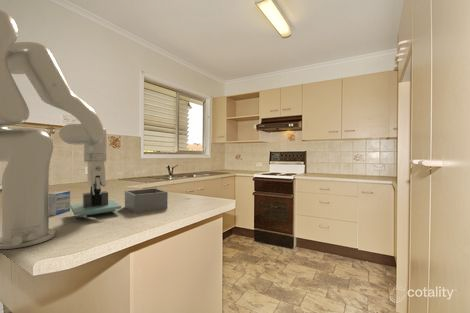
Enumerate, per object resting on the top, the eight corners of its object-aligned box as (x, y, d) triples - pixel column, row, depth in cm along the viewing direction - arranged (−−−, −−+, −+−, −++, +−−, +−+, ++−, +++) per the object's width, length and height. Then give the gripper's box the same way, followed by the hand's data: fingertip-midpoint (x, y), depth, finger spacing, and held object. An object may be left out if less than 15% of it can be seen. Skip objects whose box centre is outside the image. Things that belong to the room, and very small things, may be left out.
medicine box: (55, 215, 87) (55, 193, 87) (44, 215, 87) (44, 193, 87) (70, 210, 95) (70, 190, 95) (60, 210, 95) (60, 190, 95)
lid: (121, 211, 86) (121, 193, 86) (74, 218, 76) (74, 198, 76) (112, 204, 97) (112, 188, 97) (70, 209, 88) (70, 192, 88)
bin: (167, 209, 97) (167, 191, 97) (134, 215, 88) (134, 195, 88) (155, 204, 108) (155, 188, 108) (124, 208, 98) (124, 191, 98)
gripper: (110, 158, 83) (110, 206, 83) (102, 157, 95) (102, 199, 96) (87, 158, 78) (87, 209, 78) (81, 157, 91) (81, 201, 91)
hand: (95, 203), depth 87 cm, fingers closed on lid, 4 cm apart
